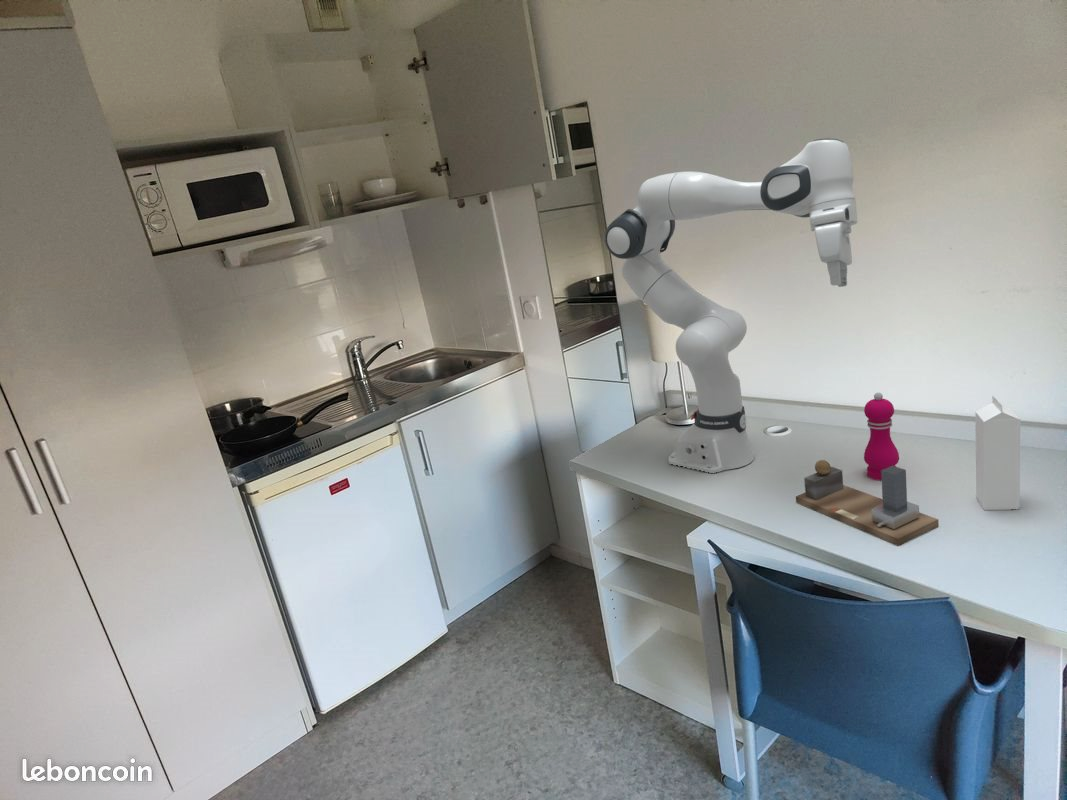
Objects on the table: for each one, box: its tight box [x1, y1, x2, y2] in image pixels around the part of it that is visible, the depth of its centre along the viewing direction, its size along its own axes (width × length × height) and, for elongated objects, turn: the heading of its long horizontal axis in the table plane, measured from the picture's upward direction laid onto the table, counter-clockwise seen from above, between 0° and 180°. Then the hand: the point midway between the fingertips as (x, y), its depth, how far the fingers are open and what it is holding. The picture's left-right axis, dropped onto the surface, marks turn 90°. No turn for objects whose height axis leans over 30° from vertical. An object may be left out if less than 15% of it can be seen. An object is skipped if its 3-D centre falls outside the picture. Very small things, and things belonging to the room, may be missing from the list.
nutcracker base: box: [795, 459, 939, 547], centre depth 142 cm, size 26×11×9 cm, turn 24°
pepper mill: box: [863, 392, 900, 481], centre depth 155 cm, size 7×7×20 cm
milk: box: [974, 395, 1021, 511], centre depth 134 cm, size 6×6×22 cm
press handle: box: [871, 465, 920, 529], centre depth 134 cm, size 5×8×10 cm, turn 114°
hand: (839, 285), depth 142 cm, fingers open, 8 cm apart
